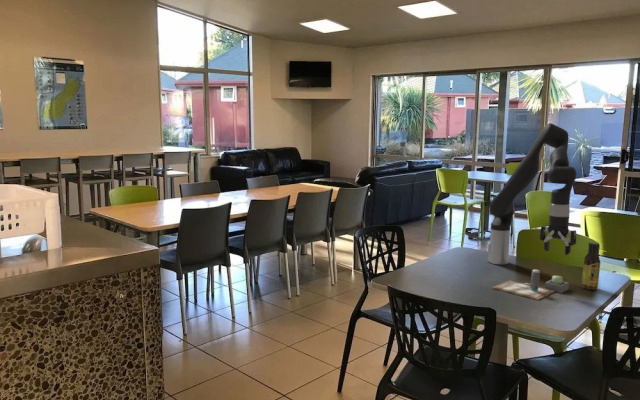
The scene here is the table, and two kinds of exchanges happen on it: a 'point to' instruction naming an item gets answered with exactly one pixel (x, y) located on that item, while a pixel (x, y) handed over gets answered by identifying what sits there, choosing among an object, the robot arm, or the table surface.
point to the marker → (535, 280)
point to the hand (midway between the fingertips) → (556, 252)
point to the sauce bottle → (591, 268)
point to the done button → (557, 279)
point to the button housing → (557, 286)
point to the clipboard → (523, 290)
